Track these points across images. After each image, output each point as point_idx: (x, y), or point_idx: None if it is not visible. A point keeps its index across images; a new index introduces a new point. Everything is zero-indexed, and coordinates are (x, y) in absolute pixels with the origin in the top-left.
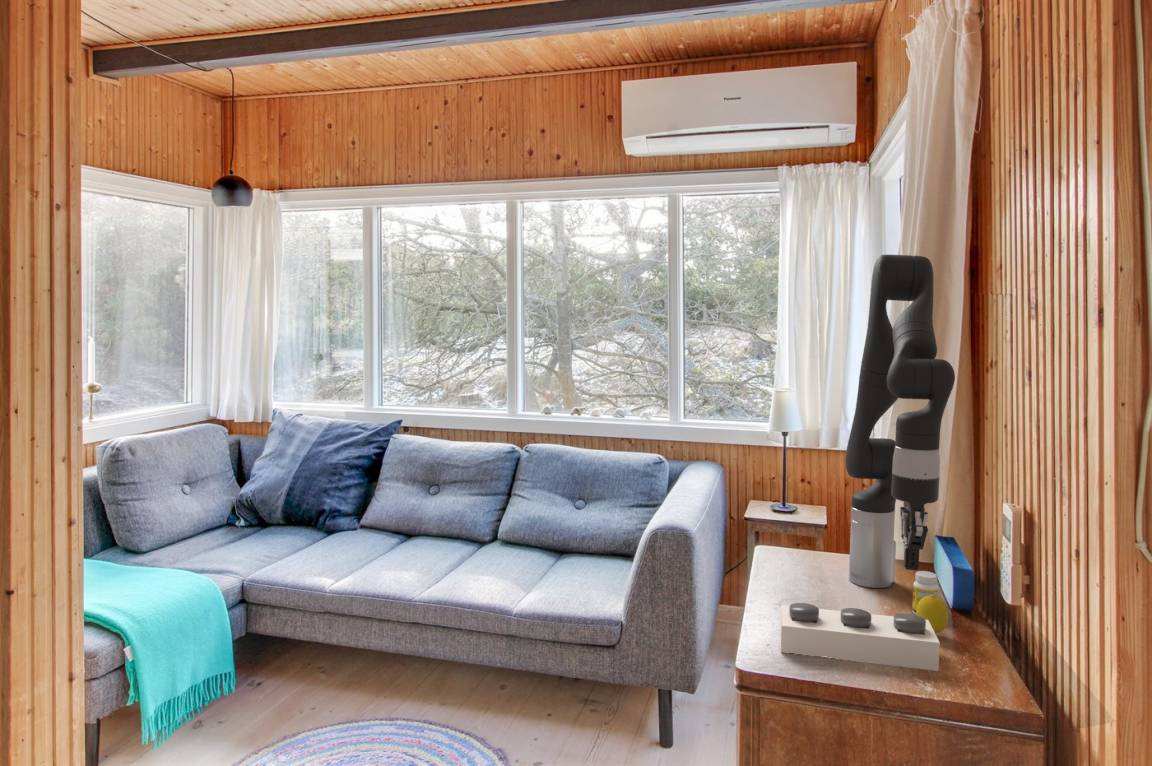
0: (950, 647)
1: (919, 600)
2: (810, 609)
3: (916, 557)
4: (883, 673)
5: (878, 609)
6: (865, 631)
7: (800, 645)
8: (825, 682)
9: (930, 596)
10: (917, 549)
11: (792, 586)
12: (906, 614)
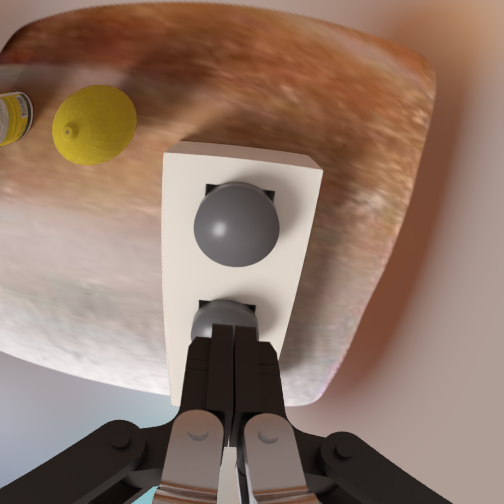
0: (174, 88)
1: (8, 136)
2: None
3: (279, 389)
4: (324, 261)
5: (22, 204)
6: (271, 315)
7: None
8: (351, 340)
9: (72, 139)
10: (302, 434)
11: (4, 321)
12: (202, 230)
